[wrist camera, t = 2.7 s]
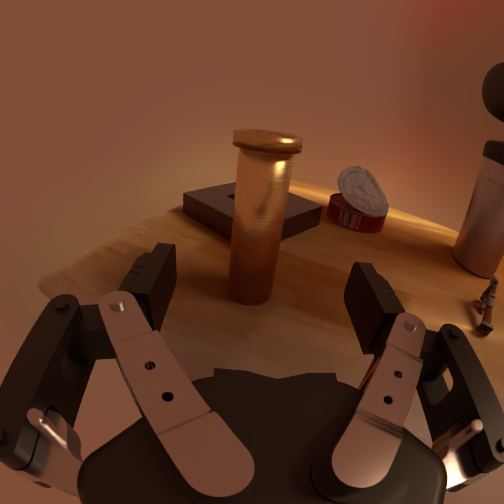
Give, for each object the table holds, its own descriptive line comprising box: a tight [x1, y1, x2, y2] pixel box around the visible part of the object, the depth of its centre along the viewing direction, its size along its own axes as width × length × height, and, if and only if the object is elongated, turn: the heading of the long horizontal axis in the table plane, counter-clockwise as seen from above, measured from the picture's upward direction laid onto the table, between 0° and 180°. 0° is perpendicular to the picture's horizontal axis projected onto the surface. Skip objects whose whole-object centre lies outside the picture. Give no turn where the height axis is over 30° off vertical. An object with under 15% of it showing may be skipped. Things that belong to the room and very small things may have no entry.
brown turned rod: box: [476, 276, 499, 335], centre depth 24 cm, size 2×8×4 cm, turn 140°
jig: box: [183, 182, 323, 241], centre depth 40 cm, size 14×14×3 cm
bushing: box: [228, 129, 303, 305], centre depth 22 cm, size 5×5×14 cm
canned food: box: [327, 166, 389, 233], centre depth 43 cm, size 11×10×10 cm
